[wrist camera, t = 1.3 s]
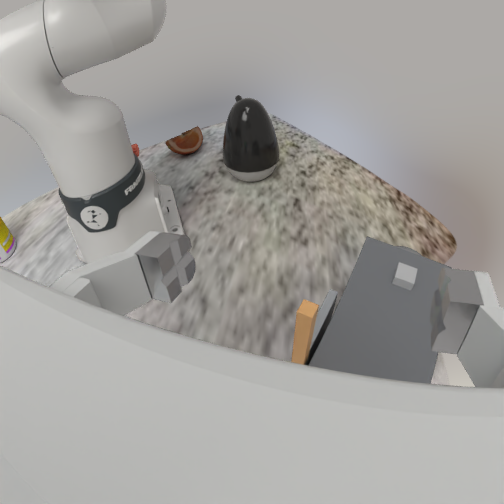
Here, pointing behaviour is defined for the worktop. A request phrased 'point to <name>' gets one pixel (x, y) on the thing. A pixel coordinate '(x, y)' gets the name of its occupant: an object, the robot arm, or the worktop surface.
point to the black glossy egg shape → (250, 141)
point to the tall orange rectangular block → (311, 327)
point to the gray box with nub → (384, 317)
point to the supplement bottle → (6, 242)
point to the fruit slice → (186, 141)
